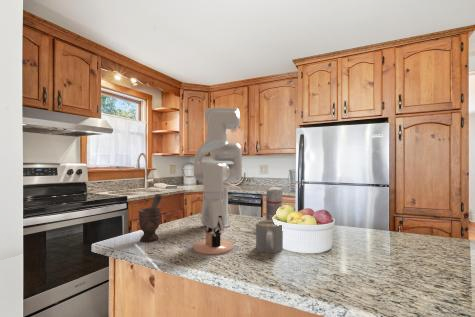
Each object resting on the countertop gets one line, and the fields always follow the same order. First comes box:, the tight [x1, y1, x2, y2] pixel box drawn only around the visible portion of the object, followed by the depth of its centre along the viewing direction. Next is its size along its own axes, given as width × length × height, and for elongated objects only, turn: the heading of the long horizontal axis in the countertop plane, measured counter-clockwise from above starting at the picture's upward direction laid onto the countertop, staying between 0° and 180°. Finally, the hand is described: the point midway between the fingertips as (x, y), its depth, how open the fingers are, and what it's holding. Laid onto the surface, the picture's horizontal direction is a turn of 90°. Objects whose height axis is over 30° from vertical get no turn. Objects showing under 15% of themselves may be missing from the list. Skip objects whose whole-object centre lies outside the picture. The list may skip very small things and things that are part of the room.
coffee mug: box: [255, 219, 284, 254], centre depth 96 cm, size 13×10×10 cm
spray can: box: [265, 186, 283, 220], centre depth 132 cm, size 8×8×20 cm
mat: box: [184, 243, 243, 260], centre depth 98 cm, size 16×16×1 cm
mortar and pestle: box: [138, 193, 163, 244], centre depth 107 cm, size 12×9×20 cm
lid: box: [192, 232, 234, 256], centre depth 98 cm, size 15×15×6 cm
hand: (213, 244), depth 98 cm, fingers closed on lid, 4 cm apart
